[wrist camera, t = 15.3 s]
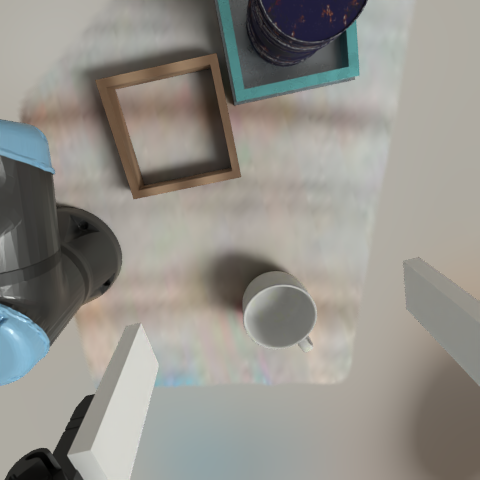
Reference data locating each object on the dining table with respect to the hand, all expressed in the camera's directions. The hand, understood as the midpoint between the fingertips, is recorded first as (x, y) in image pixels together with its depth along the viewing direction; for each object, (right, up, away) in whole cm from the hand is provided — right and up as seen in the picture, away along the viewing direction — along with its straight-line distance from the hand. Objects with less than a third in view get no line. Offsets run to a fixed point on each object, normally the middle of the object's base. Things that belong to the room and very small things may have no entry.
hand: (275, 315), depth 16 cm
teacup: (+5, -6, +39) cm, 40 cm away
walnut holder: (-11, +19, +29) cm, 36 cm away
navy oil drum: (+4, +30, +24) cm, 39 cm away
